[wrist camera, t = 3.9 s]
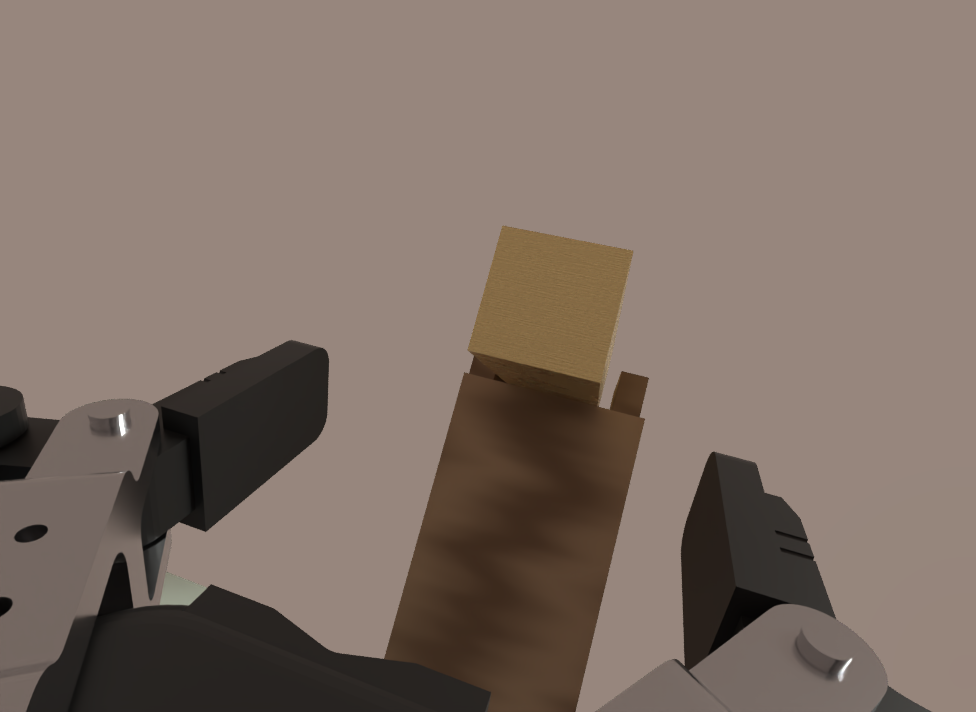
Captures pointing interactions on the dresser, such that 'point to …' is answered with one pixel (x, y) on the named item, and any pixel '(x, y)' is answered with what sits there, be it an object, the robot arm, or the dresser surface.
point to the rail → (551, 313)
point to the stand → (519, 540)
